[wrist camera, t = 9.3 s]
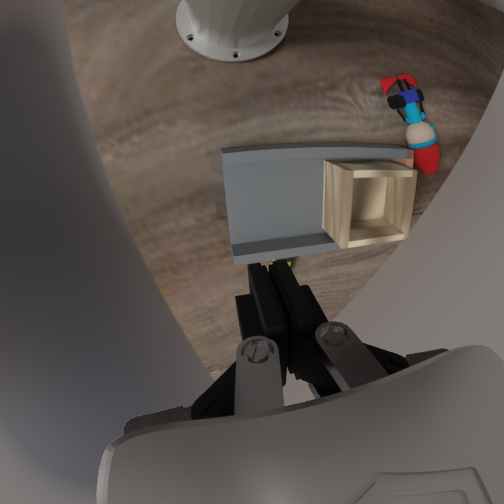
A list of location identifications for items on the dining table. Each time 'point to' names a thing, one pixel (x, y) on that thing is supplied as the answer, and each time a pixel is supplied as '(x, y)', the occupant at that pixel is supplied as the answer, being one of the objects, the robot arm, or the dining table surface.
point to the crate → (367, 201)
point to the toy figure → (415, 123)
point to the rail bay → (286, 195)
